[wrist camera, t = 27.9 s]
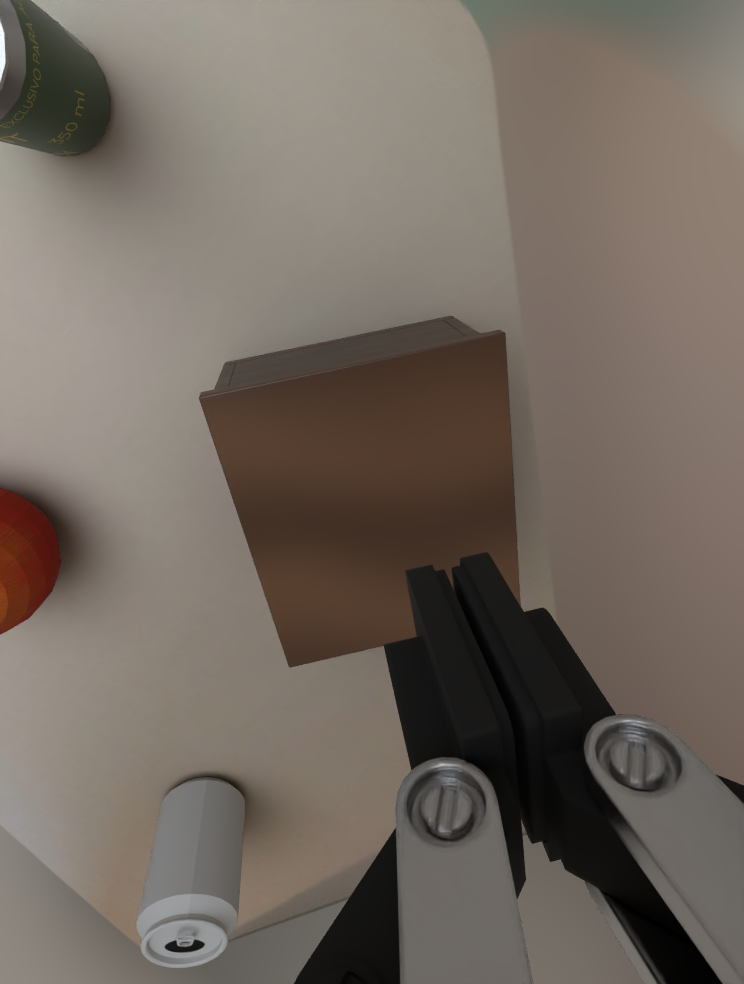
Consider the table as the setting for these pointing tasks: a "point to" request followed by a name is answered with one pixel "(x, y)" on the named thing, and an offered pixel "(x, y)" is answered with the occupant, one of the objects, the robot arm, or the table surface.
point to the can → (193, 874)
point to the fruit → (24, 559)
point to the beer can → (48, 84)
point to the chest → (342, 350)
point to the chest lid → (369, 485)
